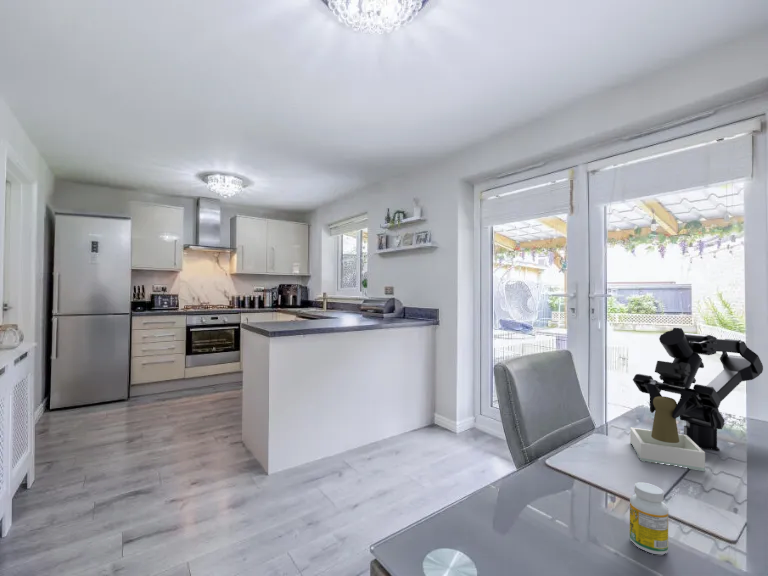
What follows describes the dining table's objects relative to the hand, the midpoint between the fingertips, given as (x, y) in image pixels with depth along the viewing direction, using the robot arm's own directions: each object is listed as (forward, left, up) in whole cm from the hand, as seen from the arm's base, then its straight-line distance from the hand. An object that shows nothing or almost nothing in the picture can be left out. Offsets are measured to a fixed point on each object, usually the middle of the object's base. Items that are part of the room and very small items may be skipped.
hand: (662, 414), depth 100 cm
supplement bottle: (+12, +45, -11) cm, 48 cm away
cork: (-1, -1, -7) cm, 7 cm away
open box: (-1, -1, -11) cm, 11 cm away
